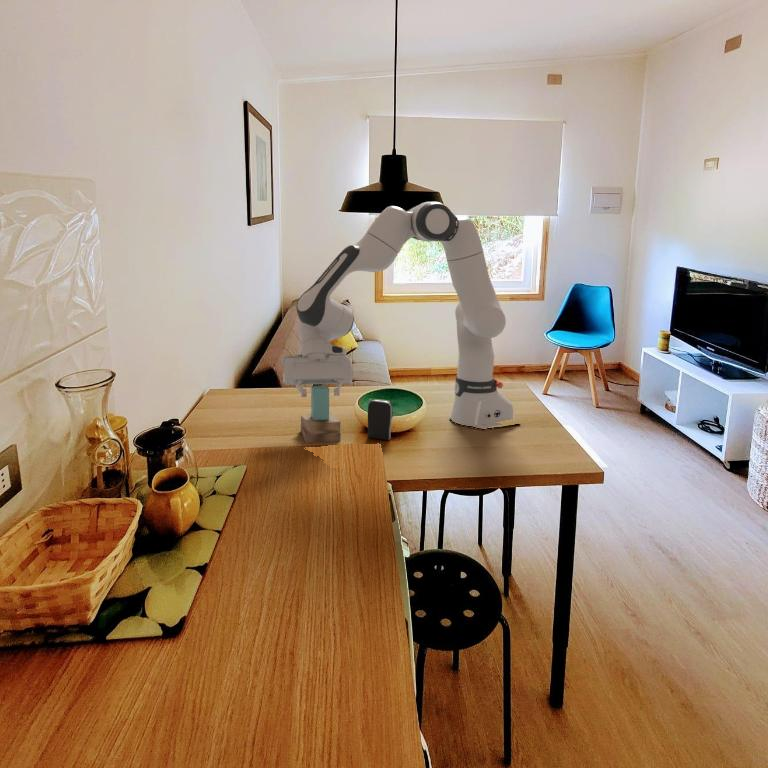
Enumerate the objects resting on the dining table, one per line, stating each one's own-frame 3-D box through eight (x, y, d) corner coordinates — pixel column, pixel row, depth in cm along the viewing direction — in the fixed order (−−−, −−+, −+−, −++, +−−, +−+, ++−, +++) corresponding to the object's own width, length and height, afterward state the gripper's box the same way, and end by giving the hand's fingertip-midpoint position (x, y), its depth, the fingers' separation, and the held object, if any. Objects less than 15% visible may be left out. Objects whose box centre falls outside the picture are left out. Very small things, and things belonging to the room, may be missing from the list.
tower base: (334, 431, 182) (334, 421, 182) (340, 442, 173) (340, 432, 172) (300, 433, 180) (300, 423, 179) (305, 444, 170) (305, 434, 170)
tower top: (330, 422, 181) (330, 412, 181) (340, 431, 173) (340, 421, 173) (300, 425, 178) (300, 415, 177) (310, 434, 170) (310, 424, 169)
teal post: (326, 415, 177) (326, 385, 176) (329, 419, 173) (329, 388, 171) (311, 416, 176) (311, 386, 175) (313, 420, 172) (313, 389, 170)
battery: (393, 437, 177) (394, 399, 174) (389, 441, 174) (390, 403, 171) (370, 433, 179) (371, 396, 176) (366, 438, 176) (367, 400, 173)
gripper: (281, 349, 174) (284, 391, 167) (351, 348, 179) (356, 388, 172) (279, 361, 179) (283, 402, 173) (348, 359, 184) (353, 399, 178)
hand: (320, 395), depth 172 cm, fingers open, 8 cm apart
